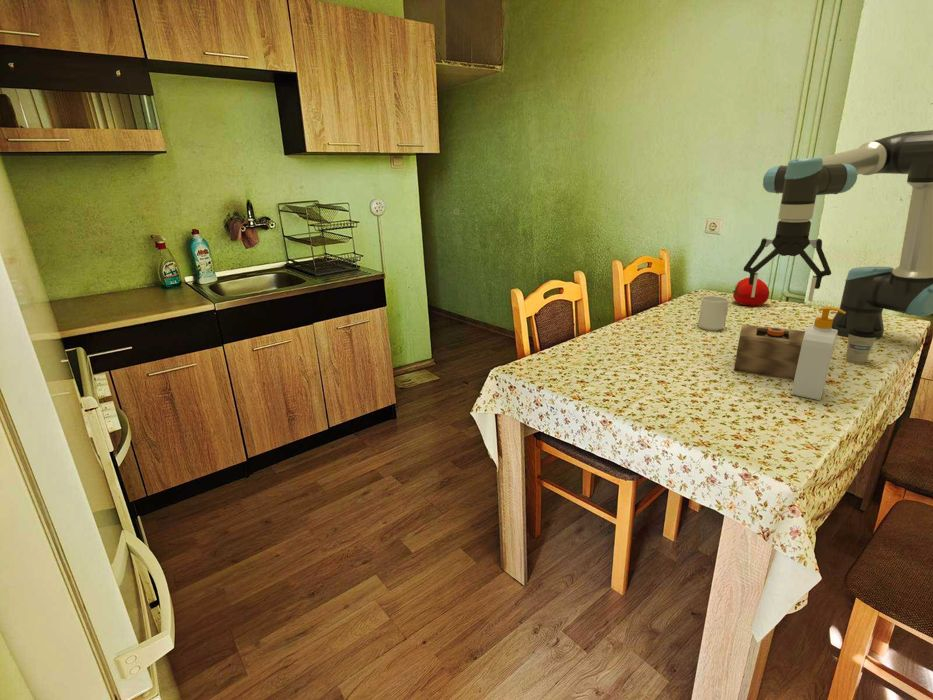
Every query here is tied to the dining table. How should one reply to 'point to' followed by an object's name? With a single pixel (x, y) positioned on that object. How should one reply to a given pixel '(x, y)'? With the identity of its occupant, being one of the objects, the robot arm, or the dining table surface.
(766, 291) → the tomato
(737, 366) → the deposit box
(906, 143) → the robot arm
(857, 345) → the coffee cup
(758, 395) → the dining table surface
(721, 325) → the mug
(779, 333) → the pill bottle
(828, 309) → the soap bottle
